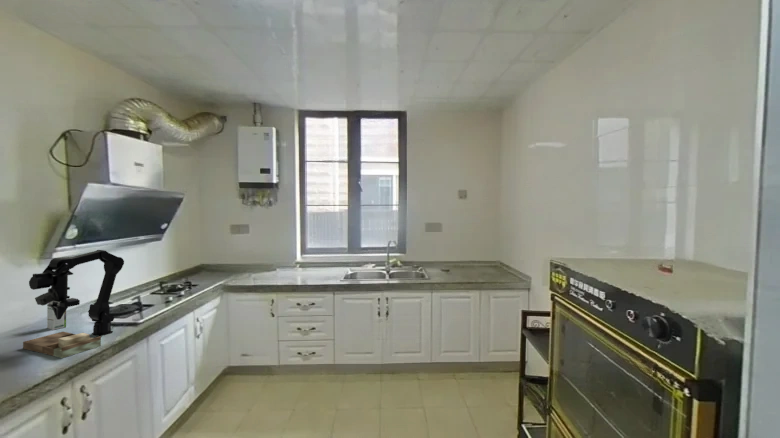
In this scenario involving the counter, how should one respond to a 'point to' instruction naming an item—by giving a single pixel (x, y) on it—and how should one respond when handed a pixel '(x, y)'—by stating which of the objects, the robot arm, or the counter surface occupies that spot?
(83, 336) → the maple slab
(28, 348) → the trap deck
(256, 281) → the counter surface
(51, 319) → the syrup box
